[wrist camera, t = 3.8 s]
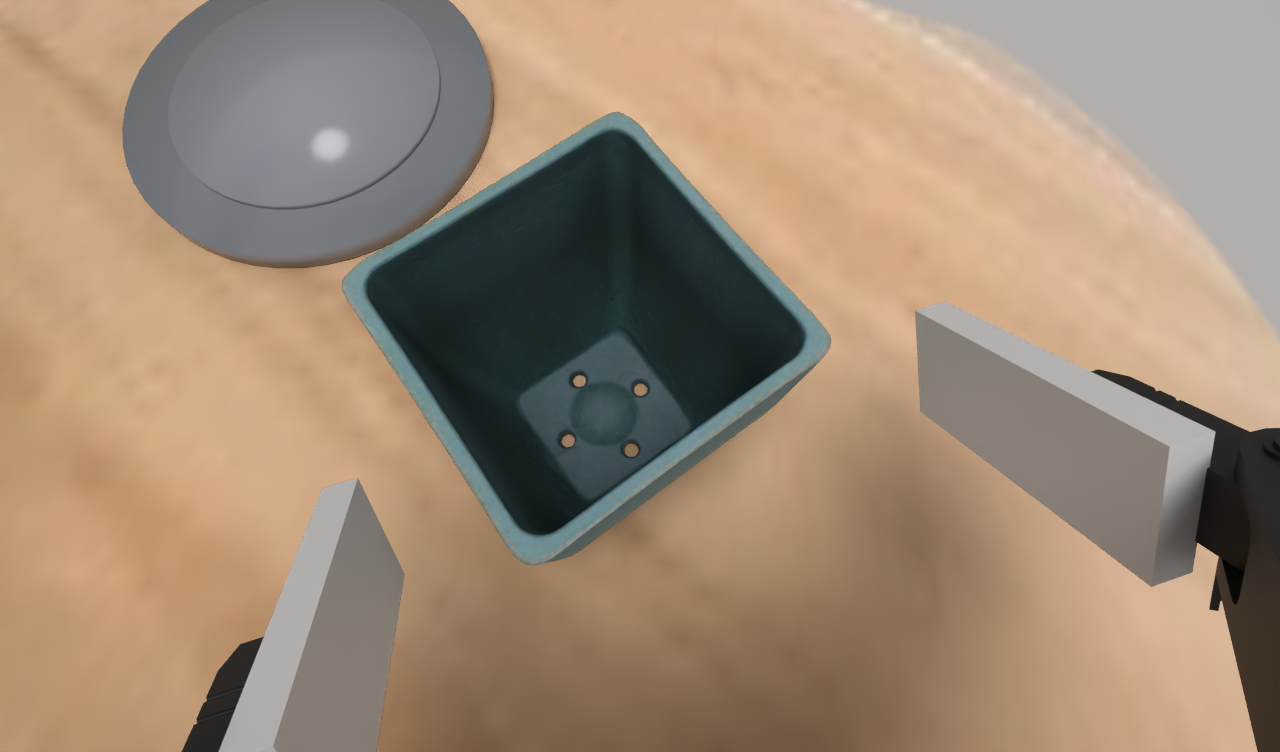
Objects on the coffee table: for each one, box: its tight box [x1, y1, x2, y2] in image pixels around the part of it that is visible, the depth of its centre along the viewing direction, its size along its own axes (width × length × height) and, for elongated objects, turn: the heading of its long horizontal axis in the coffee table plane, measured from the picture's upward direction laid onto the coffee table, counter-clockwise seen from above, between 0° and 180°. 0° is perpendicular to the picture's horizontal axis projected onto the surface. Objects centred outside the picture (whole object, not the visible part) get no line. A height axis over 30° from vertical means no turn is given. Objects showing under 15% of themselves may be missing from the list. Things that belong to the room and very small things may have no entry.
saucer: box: [123, 0, 494, 268], centre depth 29 cm, size 15×15×1 cm
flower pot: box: [342, 112, 831, 565], centre depth 21 cm, size 9×9×9 cm
